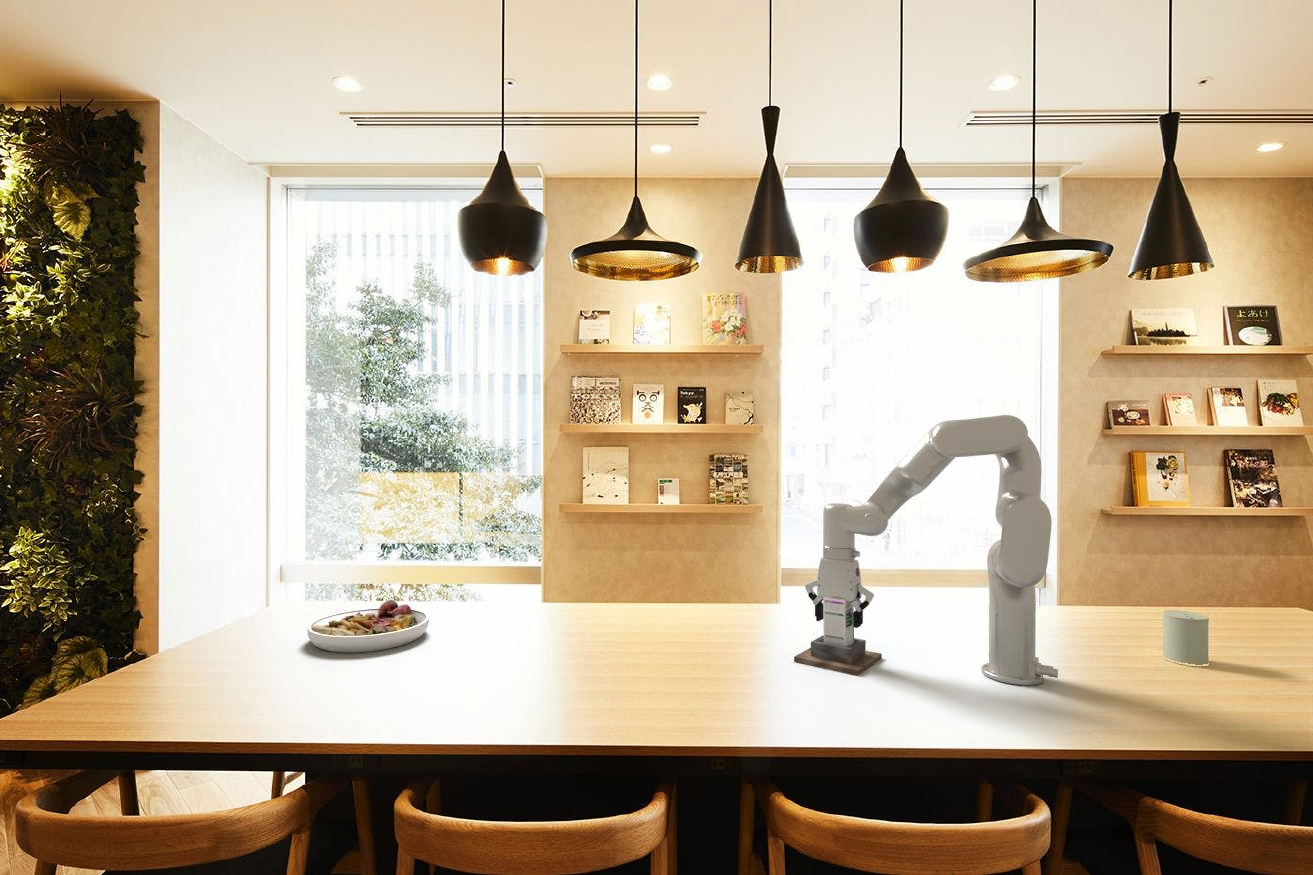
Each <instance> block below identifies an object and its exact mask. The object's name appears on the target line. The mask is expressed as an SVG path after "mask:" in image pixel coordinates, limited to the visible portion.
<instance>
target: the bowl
mask: <svg viewBox="0 0 1313 875" xmlns="http://www.w3.org/2000/svg"><path fill="white" fill-rule="evenodd" d="M429 623H430V615H429V614H428V613H426V612H425V611H421V610H419V609H413V608H411V606H409V604H406V603H405V604H401V605H399V604H398V603H397V602H396V601H395V600H394V599H389V600H386V601H384V602H383V603H382V604H381V605H380V606H379V607H375V608H373V607H372V608H362V609H354V610H347V611H342V612H337V613H334V614H329V615H326V616H324V617H320V618H317V619H316V620H315V619H314V620H313V621H311V622H310V623H309V624H308V626H307V629H306V630H307V631H306V632H307V637H308V639H309V640H310V642H311V643H312V644H313V645H314V646H315V647H317V648H319V649H321V650H324V651H329V652H334V653H347V654H348V653H351V654H353V653H369V652H370V653H371V652H377V651H384V650H388V649H389V650H390V649H393V648H397V647H401V646H405V645H406V644H409V643H412V642H414V641H415V640H417V639H419V638H420V637H422V635H423V634H424V633H425V632H426V631H427V629H428V627H429Z"/></svg>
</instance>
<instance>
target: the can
mask: <svg viewBox="0 0 1313 875" xmlns="http://www.w3.org/2000/svg"><path fill="white" fill-rule="evenodd" d="M1161 613H1162V655H1163V656H1164V657H1165V658H1167V659H1170V660H1173V661H1177V662H1181V663H1188V664H1195V665H1203V664H1208V663H1209V664H1210V662H1209V660H1210V659H1209V620H1210V617H1209V616H1207V615H1205V614H1201V613H1197V612H1192V611H1185V610H1174V609H1173V610H1169V609H1167V610H1163V611H1162V612H1161Z"/></svg>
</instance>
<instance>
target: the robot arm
mask: <svg viewBox="0 0 1313 875" xmlns="http://www.w3.org/2000/svg"><path fill="white" fill-rule="evenodd" d="M988 455H995V457H996V458H997V461H998V467H999V483H998V490H997V499H996V506H995V509H994V510H995V511H994V512H995V513H994V514H995V519H996V522H997V524H999V525H1000V527H1001V536H1000V539H998V540H997V541H995V542H993V544H992V545H991V546H990V548H989V550H988V552H987V558H986V559H987V560H986V564H987V565H986V566H987V577H988V578H987V580H988V600H989V601H988V662H987V663H984V664H982V666H981V673H982V674H983V675H984V676H985V677H986V678H987V677H988V678H989V679H992V680H994V681H998V682H1000V683H1006V684H1012V685H1018V686H1019V685H1020V686H1033V685H1040V684H1041V683H1043V682H1044V676H1046V677H1049V678H1054V679H1058V678H1059V669H1058V668H1054V666H1052V665H1046V664H1042V662H1040V661H1039V660H1040V659H1039V658H1040V657H1038V656H1036V628H1037V625H1036V621H1037V620H1036V618H1037V616H1036V611H1037V610H1036V609H1037V606H1036V605H1037V604H1036V602H1037V599H1036V598H1037V597H1036V585H1038V584H1039V583H1040V582H1041V581H1042V580H1043V578H1044V577H1045V575H1046V572H1047V568H1048V561H1049V553H1050V547H1051V546H1050V545H1051V535H1052V525H1053V524H1052V523H1053V522H1052V515H1051V511H1050V509H1049V507H1048V505H1047V504H1046V503H1045V501H1044V500H1042V499H1041V488H1042V460H1041V456H1040V453H1039V450H1038V448H1037V446H1036V444H1035V443H1034V441H1033V440H1032V438H1030V436H1029V431H1028V427H1027V426H1026V423H1025V422H1024V421H1023V420H1022V419H1020V418H1019V417H1017V416H1014V415H1011V414H1010V415H1009V414H1001V415H994V416H984V417H977V418H975V417H974V418H967V419H966V418H965V419H952V420H951V419H950V420H949V419H948V420H945V421H941V422H938V423H936V424H935V425H934V426H932V427H931V428H930V430H928V431H927V433H925V435H924V436H923V437H922V438H921V439H920V440H918V442H917V444H915V445H914V446H913V447H912V449H911V450H909V451H908V453H907V454H906V455H905V456H904V457H903V458H902V459H901V461H899V462H898V463H897V465H896V466H895V467H894V468H893V469H892V470H891V471H890V473H889V474H888V475H887V476H886V477H885V478H884V479H883V481H882V482H880V484H879V485H877V487H876V488H875V489H874V490H872V492H871V493H870V494H869V495H868V496H867V497H866V498H865V500H863V501H862V503H861V504H860V505H859V506H857V505H856V506H853V505H851V504H849V503H828V504H826V505H824V507H823V514H822V515H823V516H822V518H823V519H822V524H823V525H822V528H823V529H822V537H823V538H822V541H823V542H822V543H823V544H822V548H823V549H822V557H821V558H820V560H819V566H818V570H817V579H816V580H815V581H811V582H810V583H807V584H805V586H804V588H805V590H806V592H807V594H808V598H809V599H810V600H811V602H812V603H813V605H814V617H816V618H815V621H816V622H821V621H823V598H824V597H833V598H840V599H844V600H846V602H851V604H852V605H853V606H854V629H858V628H859V627H861V626H862V625H863V623H864V622H863V620H864V610H866V608H867V607H868V606H869V605H870V604H871V602H872V601H873V600H874V597H875V594H874V593H873V592H872V591H870V590H868V589H867V588H865V587H864V586H863V585H862V576H861V570H860V569H861V568H860V564H859V560H857V559H856V558H859V557H860V556H861V551H858V550H856V547H855V543H856V542H855V540H856V537H855V536H856V535H861V536H868V537H877V536H879V535H881V534H883V533H884V532H885V531H886V530H887V528H888V526H889V520H890V519H891V518H892V517H893V516H894V514H895V513H896V512H897V511H898V510H899V509H900V508H901V507H902V506H904V505H905V503H907V502H908V501H909V500H910V499H912V498H913V497H915V496H917V495H919V494H921V493H922V492H924V490H926V489H927V488H928V487H929V486H930V485H931V484H932V482H934V480H935V479H937V478H938V476H939V475H940V474H941V473H942V472H943V471H944V470H945V469H946V468H947V467H948V466H949V465H950V464H951V463H952V462H953V461H954V460H955V459H956V458H966V457H967V458H969V457H980V456H988ZM815 587H816V592H817V593H816V592H815V591H814V588H815ZM862 595H863V596H865V598H864V600H863V602H862V600H861V599H862Z"/></svg>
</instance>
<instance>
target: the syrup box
mask: <svg viewBox="0 0 1313 875" xmlns="http://www.w3.org/2000/svg"><path fill="white" fill-rule="evenodd" d="M822 603H823V619H822V621H823V623H822V624H823V635H824V643H827V644H832V645H837V646H842V647H849V646H851V645H852V644H854V638H855V627H854V611H855V608H854V606H853V605H852V604H851V602H846V600H844V599H840V598H833V597H824V598H823V601H822Z"/></svg>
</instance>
